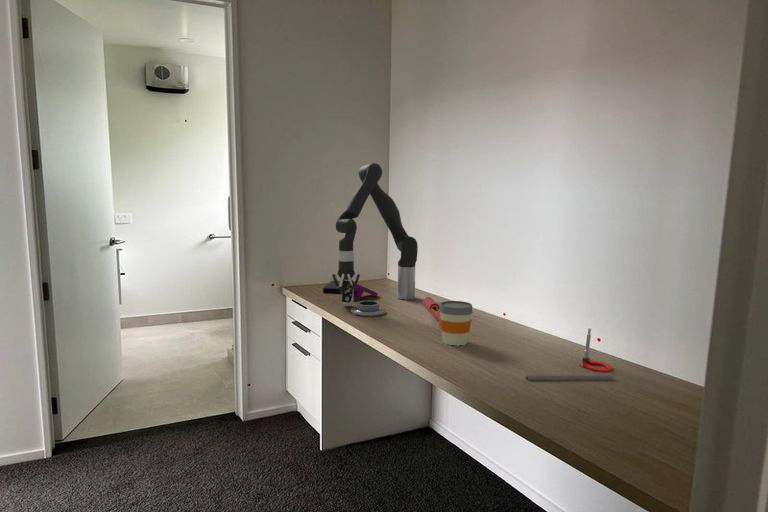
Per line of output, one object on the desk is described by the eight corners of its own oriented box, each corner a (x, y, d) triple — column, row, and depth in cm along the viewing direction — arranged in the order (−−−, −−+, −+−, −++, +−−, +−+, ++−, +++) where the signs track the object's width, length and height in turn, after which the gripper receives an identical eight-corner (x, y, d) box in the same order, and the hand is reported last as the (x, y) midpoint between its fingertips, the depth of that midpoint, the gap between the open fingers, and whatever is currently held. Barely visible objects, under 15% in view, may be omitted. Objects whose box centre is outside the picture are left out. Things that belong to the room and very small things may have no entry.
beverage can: (355, 303, 256) (356, 279, 254) (347, 305, 252) (348, 280, 250) (347, 301, 260) (348, 277, 258) (338, 302, 256) (339, 278, 254)
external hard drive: (323, 293, 287) (323, 288, 287) (331, 285, 310) (331, 280, 309) (348, 294, 286) (348, 289, 285) (354, 286, 309) (354, 281, 308)
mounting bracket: (367, 305, 285) (339, 293, 277) (373, 291, 285) (346, 279, 277) (374, 309, 276) (346, 296, 268) (381, 294, 277) (352, 282, 269)
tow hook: (615, 369, 174) (587, 361, 180) (620, 332, 172) (592, 325, 178) (606, 375, 168) (578, 367, 174) (611, 337, 166) (582, 330, 172)
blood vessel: (454, 329, 219) (455, 317, 218) (443, 329, 218) (443, 318, 217) (432, 306, 260) (433, 296, 259) (423, 306, 259) (423, 296, 259)
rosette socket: (385, 309, 251) (385, 299, 251) (384, 317, 236) (384, 307, 235) (352, 308, 252) (352, 299, 251) (349, 316, 236) (349, 306, 236)
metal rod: (525, 379, 163) (526, 373, 162) (609, 379, 165) (609, 373, 164) (527, 382, 161) (528, 375, 160) (612, 381, 163) (612, 375, 162)
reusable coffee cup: (460, 336, 207) (462, 299, 205) (477, 345, 196) (479, 306, 194) (432, 339, 203) (433, 301, 201) (447, 348, 191) (449, 309, 189)
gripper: (361, 258, 256) (361, 292, 259) (332, 258, 257) (332, 292, 259) (360, 261, 249) (360, 296, 251) (330, 260, 249) (330, 295, 252)
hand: (346, 294), depth 255 cm, fingers closed on beverage can, 4 cm apart
